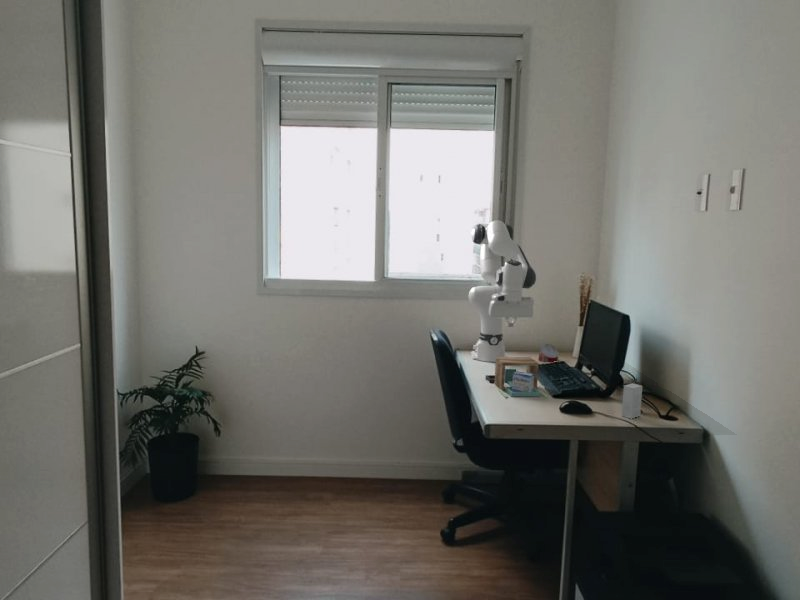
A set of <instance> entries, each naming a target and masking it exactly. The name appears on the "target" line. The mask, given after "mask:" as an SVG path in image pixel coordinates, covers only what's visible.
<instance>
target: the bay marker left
mask: <svg viewBox="0 0 800 600" xmlns="http://www.w3.org/2000/svg"><path fill="white" fill-rule="evenodd" d="M498 392H499V393H500V394H501V395H502V397H504V398H505V399H509V396H508V395H507V393H506V392H505V391H502V390H501V389H499V388H498Z"/></svg>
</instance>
